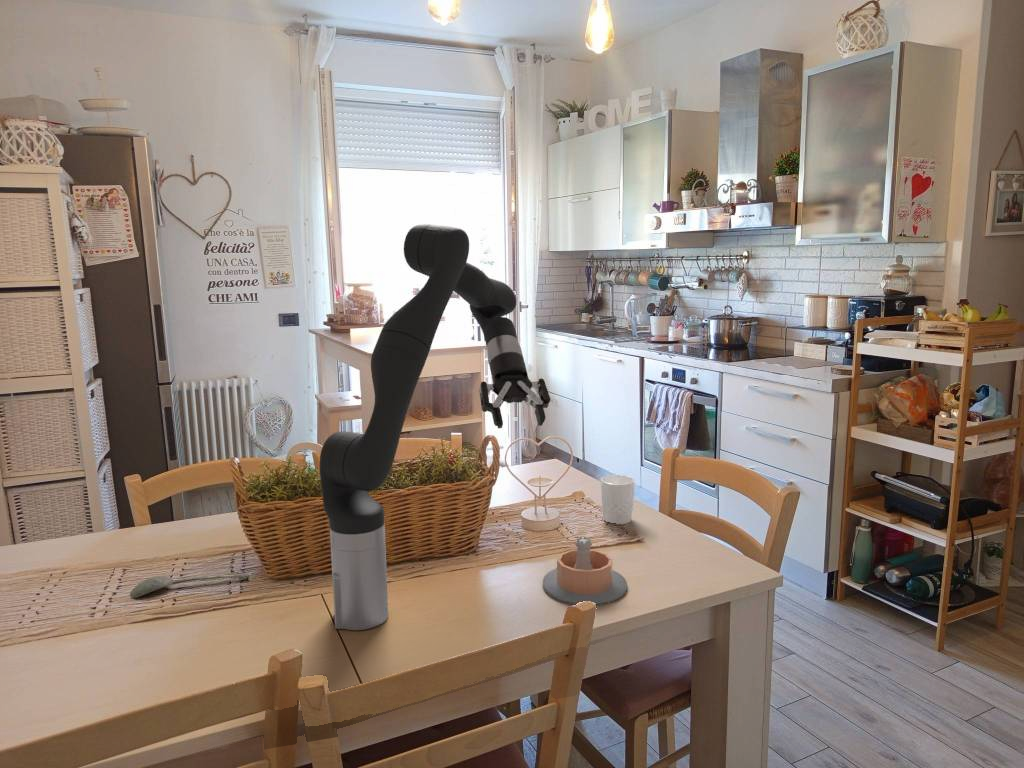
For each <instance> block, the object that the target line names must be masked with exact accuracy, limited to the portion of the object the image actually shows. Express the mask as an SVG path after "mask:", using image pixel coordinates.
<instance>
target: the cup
mask: <svg viewBox="0 0 1024 768" xmlns="http://www.w3.org/2000/svg"><path fill="white" fill-rule="evenodd" d="M576 550H577V549H576V548H575V549H569V550H566V551H564V552H562V553H560V554H559V555H558V557H557V559H556V560H557V561H556V565H557V566H556V568H554V569H551V570H550V571H548V572H547V573H546V574H545V575H544V576H543V579H542V587H543V591H544V592H545V593H546V594H547V595H548V596H550V598H553V599H555V600H557V601H559V602H562V603H564V604H570V605H574V604H577V603H579V602H583V601H591V602H594V603H596V605H595V606H600V604H602V605H605V604H604V603H607V604H609V603H608V602H611V603H613V602H615V600H616V601H617V599H618V600H620V599H621V598H622V597H623V596H625V594H626V592H627V590H628V583H627V580H626V578H625V577H624V575H622V574H621V573H619V572H617V571H615V570H614V569H613V558H612V557H611V556H610V555H609V554H608V553H605V552H603V551H599V550H597V549H590V550H591V552H590V562H591V565H592V568H593V569H592V570H581V569H574V567H575V564H576V560H577V552H576ZM619 598H620V599H619ZM612 601H613V602H612Z"/></svg>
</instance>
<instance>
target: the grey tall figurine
mask: <svg viewBox="0 0 1024 768" xmlns="http://www.w3.org/2000/svg"><path fill="white" fill-rule="evenodd" d="M574 544H575V546H576V548H577V550H576V552H577V560H576V564H575V567H574V569H581V570H592V569H593V568H592V565H591V562H590V552H591V550H592V549H591V550H590V548H591V547H592V545H593V542H592V541H591V538H590V537H587V536H579V537H577V538H576V542H575V543H574Z"/></svg>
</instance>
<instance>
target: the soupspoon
mask: <svg viewBox="0 0 1024 768" xmlns="http://www.w3.org/2000/svg"><path fill="white" fill-rule="evenodd" d="M251 575H252V573H251V572H249V574H247V573H245V574H243V573H239V574H237V573H235V574H224V575H222V574H221V575H211V576H210V575H209V576H200V577H198V576H197V577H189V578H188V577H187V578H183V579H177V580H173V579H172V578H171V577H167V576H152V577H149V578H147V579H144V580H143V581H141V582H139V583H138V584H137V585H135V586H134V588H132V589H131V591H130V593H129V597H130V598H132V599H136V598H139V597H140V598H141V597H142V596H145V595H147V594H149V593H151V592H154V591H157V590H160V589H162V588H166V587H168V586H171V585H177V584H180V583H187V582H195V581H202V580H203V581H205V580H206V581H207V580H214V579H228V578H231V579H233V578H234V579H235V580H236V579H239V580H245V581H246V580H248V581H250V580H251V577H252V576H251Z"/></svg>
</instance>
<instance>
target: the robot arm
mask: <svg viewBox="0 0 1024 768" xmlns="http://www.w3.org/2000/svg"><path fill="white" fill-rule="evenodd" d="M469 239H470V238H469V236H468V233H467V232H466V231H465V230H463V229H462V228H460V227H459V228H458V227H455V226H450V225H449V226H448V225H437V224H427V223H425V224H423V223H422V224H417V225H415V226H413V227H411V228H410V229H409V230H408V232H407V233H406V235H405V238H404V242H403V254H404V255H403V256H404V259H405V262H406V264H407V265H408V267H409V268H410V269H411V270H413V271H415V272H417V273H419V274H422V275H424V276H427V277H428V279H427V281H426V283H425V284H424V285H423V287H422V288H421V289H420V291H419V292H417V294H415V296H413V297H412V298H411V299H410V300H408V302H406V303H405V304H404V305H402V306H401V307H400V308H399V309H397V310H396V311H395V312H394V313H393V314H392V315H391V316H390V317H389V318H388V319H387V320H386V322H385V323H384V325H383V327H382V328H381V330H380V334H379V336H378V338H377V341H376V344H375V346H374V348H373V351H372V354H371V358H370V373H371V379H372V380H371V381H372V386H373V392H374V404H373V410H372V413H371V416H370V420H369V422H368V425H367V427H366V429H365V432H364V433H361V432H354V431H345V430H340V431H336V432H333V433H331V434H330V435H329V436H328V437H327V439H326V440H325V441H324V443H323V446H322V447H321V450H320V455H319V477H320V478H319V479H320V486H321V495H322V504H323V510H324V513H325V515H326V516H327V519H328V522H329V534H330V535H329V536H330V556H331V557H330V558H331V574H332V575H331V578H332V591H333V610H334V611H333V613H334V629H335V630H340V629H341V630H342V629H344V630H348V631H364V630H368V629H373V628H376V627H378V626H380V625H382V624H383V623H385V622H386V620H387V619H388V617H389V602H388V601H389V597H388V575H387V574H388V571H387V553H386V551H387V550H386V547H387V546H386V528H385V526H386V524H385V511H384V510H385V509H384V508H383V506H382V505H381V504H380V503H379V502H378V501H377V500H376V499H374V498H373V497H372V496H371V495H370V494H369V493H368V492H373V491H376V490H377V489H379V488H380V487H381V486H382V485H383V484H384V483H385V482H386V480H387V479H388V477H389V475H390V472H391V469H392V467H393V464H394V461H395V458H396V453H397V451H398V446H399V443H400V439H401V435H402V432H403V427H404V425H405V424H404V423H405V421H406V417H407V414H408V410H409V407H410V405H411V402H412V399H413V396H414V392H415V389H416V387H417V384H418V382H419V379H420V376H421V374H422V373H423V370H424V366H425V364H426V361H427V360H428V356H429V354H430V351H431V349H432V348H431V347H432V344H433V342H434V339H435V336H436V333H437V331H438V327H439V326H440V323H441V319H442V317H443V315H444V313H445V309H446V308H447V305H448V304H449V301H450V299H451V297H452V295H453V293H455V294H456V295H457V296H460V297H461V299H462V300H464V301H465V302H467V303H468V305H469V309H470V313H471V314H472V315H473V317H474V319H475V320H476V322H477V323H478V325H479V327H480V329H481V332H482V334H483V337H484V340H485V341H484V342H485V346H486V352H487V353H486V355H487V364H488V365H489V370H490V375H491V379H492V383H487V381H482V382H480V387H479V390H478V391H479V397H480V404H481V411H482V412H484V413H486V412H489V413H490V414H491V416H492V419H493V420H492V421H493V425H494V426H495V427H497V429H503V425H504V422H503V416H502V412H501V406H503V403H507V404H512V403H518V404H519V403H522V402H524V404H525V405H527V406H530V407H531V408H533V409H534V414H535V418H536V423H537V426H539V427H541V426H543V424H544V423H545V421H546V417H547V416H546V413H545V409H547V408H549V404H550V402H551V397H550V394H549V390H548V388H547V385H546V382H545V380H544V379H543V378H538V381H536V380H535V381H531V380H530V377H529V376H528V370H527V367H526V361H525V359H524V355H523V350H522V347H521V345H520V343H519V339H518V336H517V332H516V328H515V325H514V324H515V323H514V322H513V321H512V320H511V319H510V318H508V317H504V316H507V315H508V314H511V313H512V312H514V310H515V309H516V306H517V296H516V294H515V292H514V290H513V288H511V287H510V286H509V285H508V284H507V283H505V282H502V281H501V280H496V279H495V278H494V279H493V278H490V277H489V276H488V275H487V274H486V273H485V272H484V271H482V269H480V268H478V266H475V265H473V264H471V263H468V258H469V251H470V240H469ZM532 389H534V391H535V392H534V391H533V390H532ZM491 391H492V392H493V393H494V394H495V395H496V396H497V397H496V399H495V400H494V402H490V397H489V395H490V394H491ZM536 393H538V396H537V395H536Z"/></svg>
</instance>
